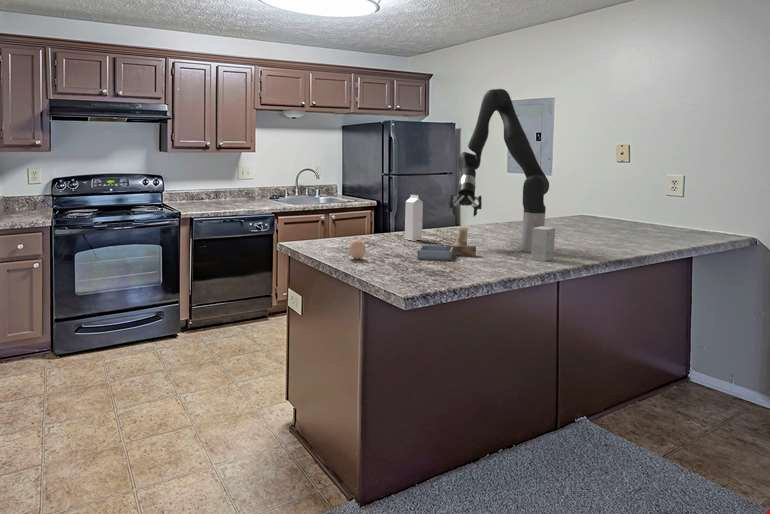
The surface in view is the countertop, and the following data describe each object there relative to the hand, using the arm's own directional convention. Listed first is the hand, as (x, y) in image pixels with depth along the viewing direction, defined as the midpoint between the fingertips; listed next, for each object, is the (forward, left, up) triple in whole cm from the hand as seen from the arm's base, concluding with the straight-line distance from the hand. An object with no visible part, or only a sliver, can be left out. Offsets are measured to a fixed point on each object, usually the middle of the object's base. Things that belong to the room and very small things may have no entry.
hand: (464, 214), depth 250 cm
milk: (+25, -18, -16) cm, 34 cm away
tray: (+10, +22, -15) cm, 29 cm away
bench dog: (0, +16, -15) cm, 22 cm away
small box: (-33, +15, -16) cm, 39 cm away
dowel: (0, +11, -15) cm, 19 cm away
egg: (+40, +36, -16) cm, 56 cm away
